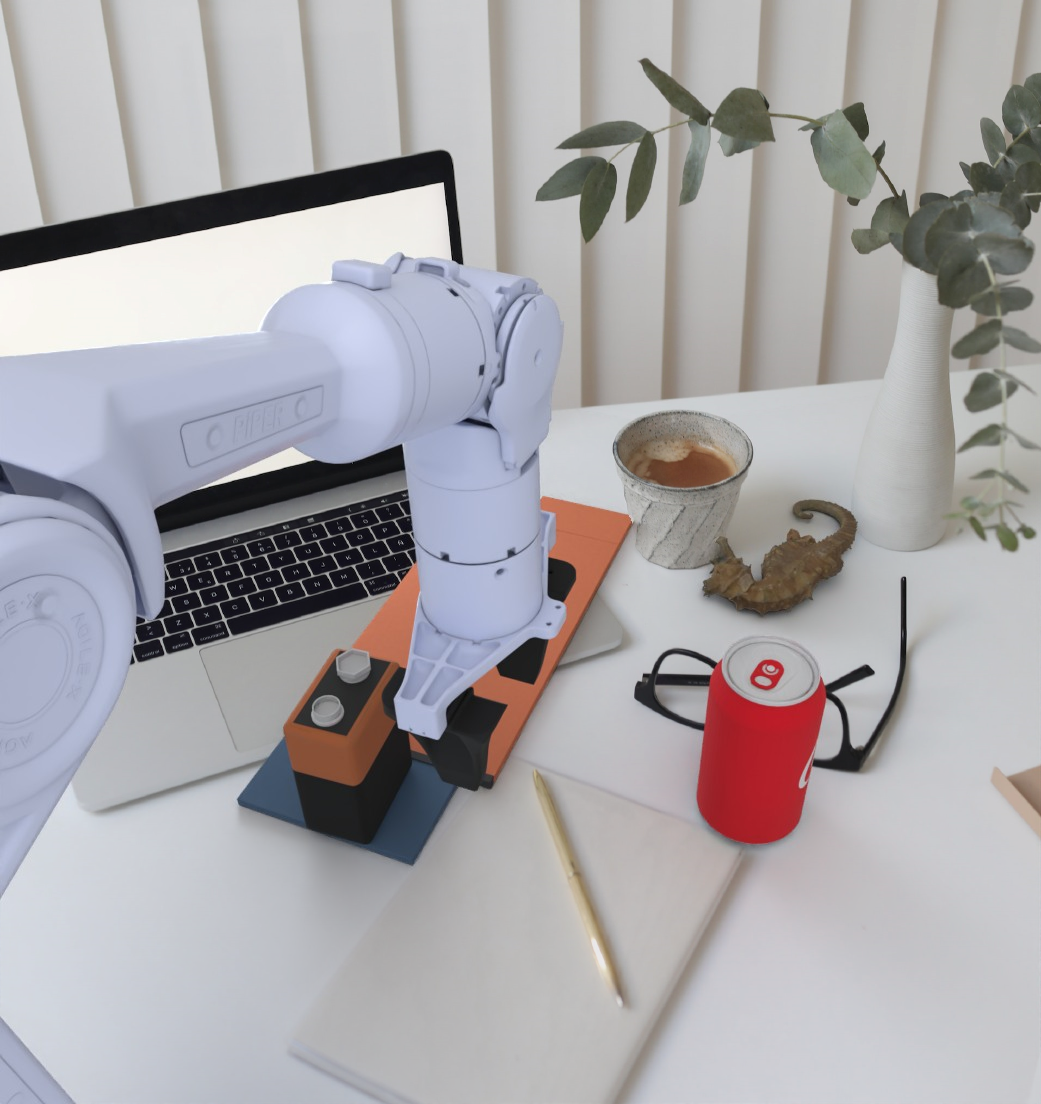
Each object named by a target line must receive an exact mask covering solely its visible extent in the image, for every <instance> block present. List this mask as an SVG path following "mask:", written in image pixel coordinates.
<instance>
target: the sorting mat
mask: <svg viewBox="0 0 1041 1104" xmlns="http://www.w3.org/2000/svg"><path fill="white" fill-rule="evenodd" d="M540 506H541V510H543V511H547V512H552V513H555V514H556V542H555V544H554V546H553V547H552V549H551V550H550V551H549V552H548V557H551V558H555V559H559V560H563V561H566V562H569V563H570V564H572V565H573V566H574V567H575V569H576V581H575V583H574V585H573V587H572V589H571V591H570V592H569V594H568V596H567V598H566V600H565V601H564V602H563V603H564V604H565V605H566V620H565V622H564V624H563V625H562V627H561V629H560V631H559V633H558V635H557V636H556V637H555V638H552V639H549V641H548V645H547V649H546V653H545V657H544V661H543V665H542V668H541V671H540V674H539V676H538V678H537V680H536V682H535V684H534V685H532V684H528V683H524V682H521V681H517V680H514V679H510V678H506V677H503V676H500V674H499V672H498V670H497V667H496V666H494V667H493V668H492V669H491V670H489V671H488V672H487V673H486V674H484V675H483V676H482V677H481V678H479V679H478V680H477V681H476V682H475V683H473V684H472V685H471V686H470V687H473V688H474V695H476V696H480V697H483V698H487V699H490V700H494V701H497V702H501V703H504V704H508V706H507V708H506V710H505V712H504V713H503V715H502V717H501V719H500V721H499V723H498V724H497V726H496V728H495V730H494V731H493V733H492V734H491V738H490V742H489V750H488V762H487V770H486V774H485V777H484V779H483V781H482V783H481V785H480V788H485V789H488V790H492V789H493V786H494V784H495V783H496V780H497V779H498V776H499V775H500V773H501V771H502V769H503V767H504V765H505V764H506V762H507V760H508V758H509V756H510V754H511V753H512V750H513V749H514V747H515V745H516V743H517V741H518V739H519V737H520V735H521V734H522V732H523V730H524V729H525V726H526V724H527V723H528V720H529V718H530V717H531V715H532V713H533V711H534V709H535V707H536V706H537V703H538V702H539V700H540V698H541V696H542V695H543V692H544V691H545V689H546V688H547V685H548V683H549V681H550V679H551V677H552V676H553V674H554V672H555V670H556V668H557V667H558V664H559V663H560V662H561V661H560V660H561V659H562V657H563V655H564V653H565V651H566V649H567V647H568V646H569V644H570V642H571V640H572V638H573V637H574V635H575V633H576V631H577V629H578V627H579V625H580V623H581V621H582V620H583V617H584V616H585V614H586V612H587V611H588V609H589V606H590V605H591V603H592V601H593V599H594V597H595V595H596V593H597V591H598V589H599V588H600V586H601V584H602V582H603V580H604V578H605V576H606V575H607V573H608V571H609V569H610V567H611V566H612V563H613V562H614V560H615V559H616V556H617V554H618V553H619V550H620V548H621V547H622V545H623V543H624V541H625V539H626V538H627V536H628V534H629V531H630V529H631V528H632V526H633V524H632V521H631V518H630V517H629V515H630V514H628V513H623V512H618V511H614V510H609V509H604V508H601V507H595V506H592V505H586V504H582V503H578V502H574V501H569V500H564V499H558V498H555V497H550V496H547V495H542V496H541V497H540ZM419 593H420V584H419V576H418V568H417V560H416V561H415V563H413V565H412V566H411V568H410V569H409V571H408V572H407V573H406V574H405V575H404V577H403V578H402V580H401V581H400V583H399V584H398V585H397V587H396V588H395V589H394V590H393V591H392V593H391V594H390V596H389V597H388V598H387V600H386V601H385V602H384V603H383V605H382V606H381V608H380V609H379V610H378V612H377V613H375V615H374V617H373V618H372V620H371V621H370V622H369V624H368V625H367V626H366V628H365V629H364V630H363V631H362V633H361V634H360V635H359V637H358V638H357V639H356V641H355V642H354V644H353V645H352V646H351V647H350V649H351V648H354V649H358V650H363V651H367V652H369V655H370V656H374V657H379V658H383V659H387V660H392V661H396V662H397V663H398V664H399V665H400V667H403V668H406V669H407V664H408V658H409V651H410V645H411V639H412V633H413V626H414V620H415V614H416V608H417V601H418V596H419ZM468 688H469V687H468ZM409 740H410V748H411V756H412V765H411V768H410V770H409V771H408V773H407V775H406V777H405V779H404V781H403V783H402V785H401V787H400V789H399V791H398V792H397V794H396V796H395V798H394V800H393V802H392V804H391V806H390V808H389V810H388V812H387V813H386V815H385V817H384V819H383V821H382V823H381V825H380V827H379V829H378V831H377V832H376V834H375V836H374V838H373V840H372V841H371V842H370V843H369V844H367V845H363V844H359V843H356V842H352V841H349V840H345V839H341V838H338V837H334V836H331V835H327V834H323V833H320V832H316V831H313V830H310V829H308V828H307V827H306V824H305V820H304V816H303V812H302V808H301V803H300V799H299V795H298V791H297V787H296V782H295V778H294V774H293V770H292V765H291V761H290V757H289V753H288V749H287V744H286V740H285V736H284V735H283V736H282V739H281V740H280V741H279V742H278V744H277V745H276V746H275V747H274V749H273V750H272V752H271V753H270V754H269V756H268V757H267V759H266V760H265V761H264V762H263V763H262V765H261V766H260V768H259V769H258V770H257V772H256V773H255V774H254V775H253V777H252V778H251V779H250V781H249V782H248V783H247V785H246V786H245V788H243V790H242V791H241V792H240V794H239V795H238V797H237V798H236V801H237V805H238V806H241V807H244V808H247V809H249V810H253V811H255V812H258V813H261V814H263V815H266V816H270V817H272V818H275V819H278V820H282V821H284V822H286V823H289V824H292V825H296V826H298V827H301V828H304V829H306V830H309V831H313V832H315V833H319V834H321V835H324V836H327V837H330V838H333V839H336V840H338V841H341V842H343V843H347V844H349V845H353V846H355V847H359V848H362V849H364V850H367V851H370V852H372V853H375V854H379V855H381V856H384V857H387V858H390V859H392V860H396V861H399V862H402V863H404V864H407V865H409V866H414V864H416V863H415V862H416V861H417V859H418V858H419V856H420V854H421V852H422V850H423V848H424V847H425V845H426V844H427V841H428V839H429V838H430V836H431V834H432V832H433V831H434V829H435V827H436V825H437V824H438V822H439V820H440V819H441V817H442V815H443V813H444V811H445V810H446V809H447V806H448V804H449V803H450V801H451V799H452V797H453V796H454V794H455V792H456V790H457V789H458V788H459V786H455V785H452V784H449V783H446V782H443V781H442V780H441V778H440V776H439V774H438V773H437V771H436V769H435V767H434V765H433V763H432V762H431V760H430V758H429V757H428V755H427V753H426V752H425V750H424V749H423V748H422V746H421V745H420V744H419V742H418V741H417V740H416V739H415V738H414V737H413V736H412V735H411V734H410V733H409Z"/></svg>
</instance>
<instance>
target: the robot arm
mask: <svg viewBox="0 0 1041 1104" xmlns="http://www.w3.org/2000/svg"><path fill="white" fill-rule="evenodd" d="M330 275H331V276H330V281H324V282H318V283H308V284H304V285H300V286H297V287H296V288H293V289H291V290H289V291H287V292H285V293H284V294H283V295H281V296H280V297H279V298H278V299H277V300H275V302H273V303H272V305H271V306H270V307H269V309H268V310H267V311H266V313H265V315H264V316H263V318H262V320H261V321H260V323H259V325H258V328H257V331H251V332H241V333H231V334H220V335H219V334H218V335H211V336H199V337H190V338H188V337H187V338H179V339H170V340H160V341H159V340H158V341H149V342H138V343H127V344H120V345H119V344H118V345H108V346H98V347H88V348H78V349H68V350H58V351H48V352H39V353H38V352H36V353H27V354H18V355H5V356H0V900H1V899H2V898H3V896H4V894H5V892H6V890H7V889H8V887H9V885H10V884H11V882H12V880H13V878H14V877H15V875H16V873H17V872H18V870H19V869H20V867H21V865H22V864H23V862H24V860H25V859H26V857H27V855H28V854H29V852H30V850H31V848H32V847H33V845H34V843H35V842H36V840H37V839H38V837H39V835H40V833H41V832H42V830H43V828H44V827H45V825H46V824H47V822H48V821H49V819H50V817H51V815H52V813H53V811H54V810H55V808H56V807H57V805H58V803H59V801H60V800H61V798H62V797H63V795H64V793H65V792H66V790H67V788H68V787H69V785H70V783H71V782H72V780H73V778H74V776H76V773H77V772H78V770H79V769H80V767H81V765H82V763H83V762H84V760H85V758H86V757H87V755H88V753H89V752H90V751H91V748H92V747H93V745H94V744H95V741H96V740H97V738H98V736H99V734H100V733H101V731H102V729H103V728H104V726H105V725H106V723H107V721H109V718H110V716H111V715H112V713H113V711H114V709H115V707H116V705H117V702H118V700H119V699H120V696H121V693H122V691H123V688H124V686H125V683H126V680H127V677H128V673H129V669H130V666H131V661H132V656H133V651H134V646H135V645H134V644H135V639H136V632H137V618H138V617H139V618H141V619H144V620H147V621H150V622H152V621H155V619H156V618H157V616H158V615H159V614H160V613H161V611H162V609H163V608H164V604H165V596H166V595H165V592H166V590H165V589H166V588H165V587H166V585H165V584H166V572H165V558H164V550H163V544H162V543H163V542H162V537H161V535H160V529H159V526H158V522H157V518H156V515H155V510H156V509H157V508H159V507H160V506H163V505H166V504H167V503H169V502H173V501H174V500H176V499H178V498H181V497H183V496H185V495H188V494H190V493H192V492H194V491H197V490H198V489H199V490H200V489H201V488H203V487H206V486H208V485H210V484H212V483H214V482H217V481H219V480H222V479H223V478H226V477H228V476H230V475H232V474H235V473H237V472H240V471H241V470H243V469H246V468H248V467H250V466H253V465H255V464H257V463H259V462H261V461H264V460H266V459H268V458H271V457H273V456H275V455H277V454H279V453H282V452H284V451H286V450H288V449H291V448H293V449H295V450H296V451H297V452H299V453H300V454H302V455H304V456H306V457H309V458H311V459H313V460H315V461H319V462H321V463H327V464H334V465H335V464H351V463H353V462H357V461H360V460H363V459H366V458H369V457H372V456H374V455H376V454H379V453H381V452H384V451H386V450H389V449H392V448H395V447H398V446H400V445H402V451H403V460H404V461H403V462H404V468H405V477H406V485H407V492H408V502H409V509H410V518H411V525H412V533H413V539H414V549H415V550H414V551H415V560H416V561H417V568H418V576H419V584H420V593H419V596H418V601H417V608H416V614H415V620H414V626H413V633H412V639H411V645H410V651H409V658H408V664H407V669H406V668H403V667H398V668H397V670H396V671H395V673H394V674H393V676H392V677H391V679H390V680H389V682H388V683H387V685H386V686H385V688H384V689H383V691H382V696H381V697H382V703H383V710H384V713H385V714H386V715H387V716H388V717H389V718H391V719H392V720H394V721H395V722H397V723H398V728H399V729H403V730H406V731H408V732H409V733H410V734H411V735H412V736H413V737H414V738H415V739H416V740H417V741H418V742H419V744H420V745H421V746H422V748H423V749H424V750H425V752H426V753H427V755H428V757H429V758H430V760H431V762H432V763H433V765H434V767H435V769H436V771H437V773H438V774H439V776H440V778H441V780H442V781H443V782H446V783H449V784H452V785H455V786H458V788H463V789H465V790H468V791H470V792H471V791H472V792H478V791H479V789H480V788H481V786H480V785H481V783H482V781H483V779H484V777H485V774H486V770H487V762H488V750H489V742H490V738H491V734H492V733H493V731H494V730H495V728H496V726H497V724H498V723H499V721H500V719H501V717H502V715H503V713H504V712H505V710H506V708H507V706H508V704H504V703H501V702H497V701H494V700H490V699H487V698H483V697H480V696H476V695H474V688H473V687H470V686H471V685H472V684H473V683H475V682H476V681H477V680H478V679H479V678H481V677H482V676H483V675H484V674H486V673H487V672H488V671H489V670H491V669H492V668H493V667H494V666H496V667H497V670H498V672H499V674H500V676H503V677H506V678H510V679H514V680H517V681H521V682H524V683H528V684H532V685H534V684H535V682H536V680H537V678H538V676H539V674H540V671H541V668H542V665H543V661H544V657H545V653H546V649H547V645H548V641H549V639H552V638H555V637H556V636H557V635H558V633H559V631H560V629H561V627H562V625H563V624H564V622H565V620H566V605H565V604H564V603H563V602H564V601H565V600H566V598H567V596H568V594H569V592H570V591H571V589H572V587H573V585H574V583H575V581H576V569H575V567H574V566H573V565H572V564H570V563H569V562H566V561H563V560H559V559H555V558H551V557H548V552H549V551H550V550H551V549H552V547H553V546H554V544H555V542H556V514H555V513H552V512H547V511H543V510H541V506H540V499H541V472H540V471H541V470H540V467H541V466H540V445H541V444H542V443H543V442H544V441H545V440H546V438H547V437H548V436H549V431H550V423H551V422H552V397H553V391H554V385H555V381H556V377H557V374H558V370H559V367H560V362H561V356H562V351H563V350H562V349H563V343H564V331H565V330H564V328H565V324H564V323H565V321H564V320H561V316H560V315H561V314H560V311H559V307H558V305H557V303H556V302H555V300H554V299H553V297H551V296H550V295H548V294H544V291H543V289H542V287H539V286H538V285H539V282H538V281H536V280H535V279H533V278H531V277H528V276H521V275H517V274H512V273H506V272H502V271H497V270H490V269H485V268H480V267H475V266H471V265H470V266H469V265H464V264H461V263H460V264H459V263H458V262H456V261H455V260H451V259H446V258H440V257H436V256H426V257H417V258H414V257H412V256H406V255H405V254H404V253H403V252H401V251H398V252H396V253H394V254H392V255H391V256H390V257H388V258H387V259H385V261H384V262H383V263H382V264H381V263H377V262H370V261H366V260H360V259H356V258H351V259H350V258H349V259H342V260H341V259H340V260H334V262H333V263H332V264H331V273H330ZM468 687H469V688H468ZM0 1104H77V1103H76V1101H75V1100H74V1099H73V1098H72V1097H71V1096H70V1095H69V1093H67V1091H66V1090H65V1089H64V1088H63V1087H62V1085H61V1084H60V1083H59V1082H58V1080H57V1079H56V1078H54V1076H53V1075H52V1074H51V1073H50V1072H49V1070H47V1068H46V1067H45V1066H44V1064H43V1063H42V1062H41V1061H40V1060H39V1059H38V1058H37V1056H36V1055H35V1054H34V1053H33V1051H31V1050H30V1049H29V1047H27V1045H26V1044H25V1043H24V1042H23V1041H22V1040H21V1038H20V1037H19V1036H18V1035H17V1033H16V1032H15V1031H14V1030H13V1029H12V1028H11V1026H10V1025H9V1024H8V1023H7V1022H6V1021H5V1020H4V1019H3V1017H2V1016H0Z"/></svg>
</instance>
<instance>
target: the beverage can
mask: <svg viewBox="0 0 1041 1104" xmlns="http://www.w3.org/2000/svg"><path fill="white" fill-rule="evenodd" d="M821 673H822V672H821V667H820V665H819V662H818V661H817V659H816V657H815V655H814V654H812V652H811V651H810V650H809V649H807V648H806V647H805V646H804V645H802V644H800V643H799V642H796V641H794V640H793V639H790V638H787V637H784V636H781V635H776V634H775V635H774V634H753V635H749V636H745V637H743V638H740V639H738V640H736V641H735V642H733V643H732V644H731V645H729V647H727V649H726V650H725V652H724V654H723V656H722V658H721V659H720V660H719V661H718V662H717V664H716V665H715V666H714V668H713V670H712V673H711V675H710V679H709V686H708V694H707V695H708V696H707V701H706V709H705V710H706V711H705V720H704V728H703V736H702V746H701V753H700V762H699V769H698V770H699V771H698V779H697V787H696V804H697V808H698V810H699V812H700V814H701V816H702V818H703V819H704V821H705V822H706V823H707V824H708V825H709V826H710V828H712V829H713V830H714V831H715V832H717V833H718V834H720V835H721V836H723V837H725V838H727V839H729V840H731V841H734V842H737V843H741V844H745V845H746V844H747V845H767V844H771V843H775V842H778V841H780V840H782V839H784V838H785V837H787V836H788V835H790V834H791V833H792V832H793V831H794V830H795V829H796V827H797V826H798V824H799V822H800V820H801V818H802V815H803V814H802V813H803V808H804V803H805V800H806V795H807V791H808V785H809V781H810V778H811V777H810V776H811V773H812V767H813V763H814V758H815V754H816V750H817V744H818V740H819V735H820V730H821V727H822V726H821V725H822V722H823V716H824V712H825V707H826V703H827V691H826V685H825V682H824V680H823V677H822V676H821Z"/></svg>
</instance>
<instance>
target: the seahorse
mask: <svg viewBox="0 0 1041 1104" xmlns="http://www.w3.org/2000/svg"><path fill="white" fill-rule="evenodd" d="M808 510H809V511H817V512H821V513H824V514H827V515H830V516H832V517H833V518H835V519H836V520H837V521H838V522H839V524H840V528H839V529H838V530H837V531H836V532H834V533H832V534H830V536H829V535H826V537H825V538H823V539H822V540H821V541H820V540H818V541H816V538H814V537H813V536H812V535H810V534H807V535H803V536H800V533H799V530H797V529H794V528H790V529H789V531H788V532H787V533H786V537H785V538H786V539H785V540H786V541H784V542H783V541H782V543H781V544H778V545H777V544H775V545H773V546H772V548H771V549H770V551H769V552H768V553H764V557H763V561H762V563H761V564H760V573H761V579H760V580H756V579H755V578H754V575H753V572H752V565H753V564H752V563H750V564H748V565H747V564H745V563H744V559H743V557H739V558H738V557H737V556H736V555H735V553H734V551H733V549H732V548H731V546H730V545H729V542H728V541H729V540H728V538H727V537H725V536H722V535H721V536H719V538H718V539H717V540H716V542H715V543H716V544H717V545H718V546H719V548H720V550H721V554H719V555H715V558H714V559H713V560H709V563H710V564H712V566H713V567H712V569H711V570H710V571H709V573H708V575H710V574H711V576H710V577H709V578H706V579H704V580H702V584H703V586H702V591H703V597H706V596H707V598H711V597H712V596H713V595H718V596H720V597H723V598H725V599H726V600H729V601H732V602H733V603H734V604H735V607H736V611H737V612H739V611H742V610H743V609H748V610H749V611H752V610H754V611H756V612H758V613H759V614H760V615H761V617H762V618H764V616H765V615H766V613H768V612H769V611H772V612H779V611H781V610H787V611H788V612H792V608H793V606H794V605H797V604H801V603H802V602H803V601H804V599H808V600H810V601H814V598H813V596H812V595H813V592H814V590H815V589H816V587H817V585H818V584H819V583H820V582H821V581H823V580H825V581H827V580H828V579H829V578H831V577H834V576H837V575H838V574H839V573H841V572H842V570H843V567H844V566H845V563H844V560H843V559H842V555H844V554H845V552H847V551H848V549H849V550H852V545H853V544H854V542H855V541H856V540H855V539H856V538H855V537H856V533H857V530H858V523H859V521H857V518H855V515H853V513H852V511H850V510H849V509H847V508H845V507H844V506H842V505H839V504H838V503H836V502H831V501H826V500H823V499H803V500H799V501H796V502H795V503H794V504H793V506H792V513H793V515H794V516H795V517H796V518H798V519H800V520H807V521H808V520H812V519H813V518H814V517H815V516H814V513H813V512H809V513H805V512H803V511H808Z"/></svg>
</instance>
